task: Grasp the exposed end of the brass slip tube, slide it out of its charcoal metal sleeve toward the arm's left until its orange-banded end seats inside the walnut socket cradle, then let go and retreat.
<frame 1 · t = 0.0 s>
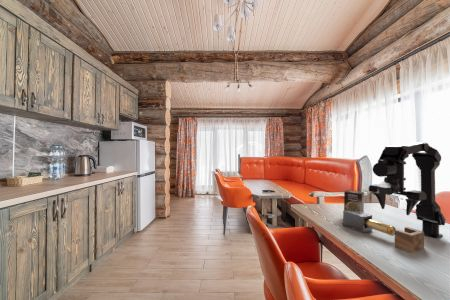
hand: (394, 211, 88), 15 cm above the table, fingers open, 9 cm apart
sleeve: (357, 228, 107), on the table
coffee box: (353, 219, 121), on the table
slip tube: (369, 223, 102), point 4 cm above the table, slide at 0.0 cm
socket cradle: (409, 247, 87), on the table
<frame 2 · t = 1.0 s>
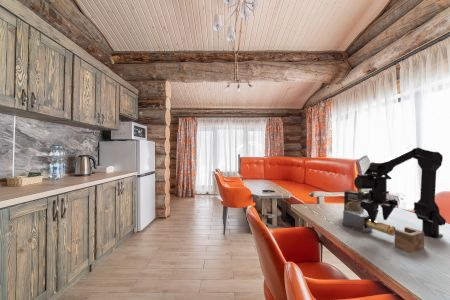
hand: (378, 221, 98), 7 cm above the table, fingers open, 9 cm apart
nothing on the table moved.
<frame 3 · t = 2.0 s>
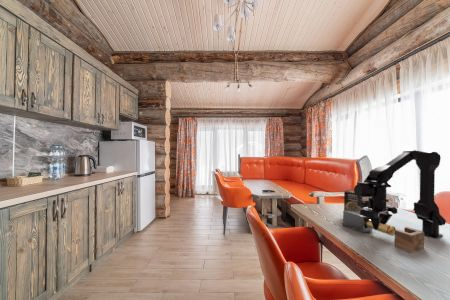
hand: (378, 229, 98), 3 cm above the table, fingers closed on slip tube, 4 cm apart
slip tube: (369, 223, 102), point 5 cm above the table, slide at 0.0 cm, touching gripper
everything else where it was.
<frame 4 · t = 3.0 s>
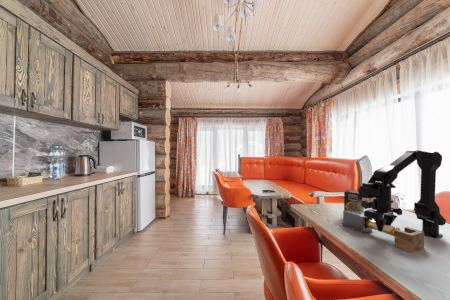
hand: (383, 230, 96), 3 cm above the table, fingers closed on slip tube, 4 cm apart
slip tube: (373, 224, 100), point 5 cm above the table, slide at 1.9 cm, touching gripper
everything else where it was.
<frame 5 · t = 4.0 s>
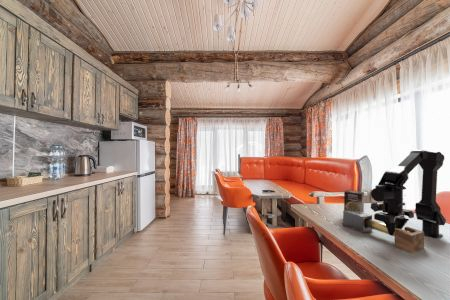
hand: (393, 234, 92), 3 cm above the table, fingers closed on slip tube, 4 cm apart
slip tube: (384, 228, 96), point 4 cm above the table, slide at 6.4 cm, touching gripper
everything else where it was.
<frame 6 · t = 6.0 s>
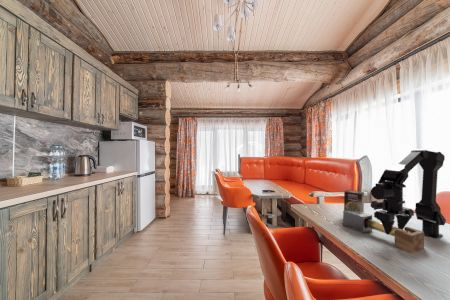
hand: (394, 232, 92), 4 cm above the table, fingers open, 9 cm apart
slip tube: (384, 228, 96), point 5 cm above the table, slide at 6.4 cm
everything else where it was.
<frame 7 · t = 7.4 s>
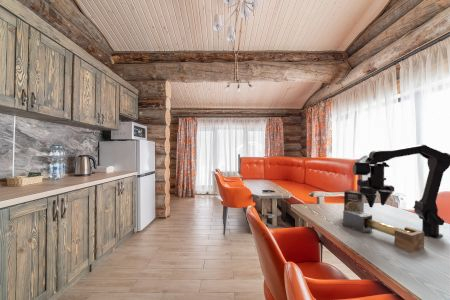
hand: (376, 206, 105), 12 cm above the table, fingers open, 9 cm apart
nothing on the table moved.
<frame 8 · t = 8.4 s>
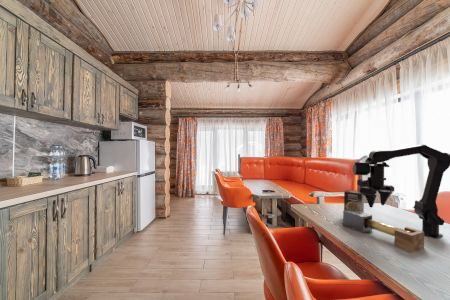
hand: (376, 206, 105), 12 cm above the table, fingers open, 9 cm apart
nothing on the table moved.
at the end: slip tube slide at 6.4 cm; the gripper is holding nothing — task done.
